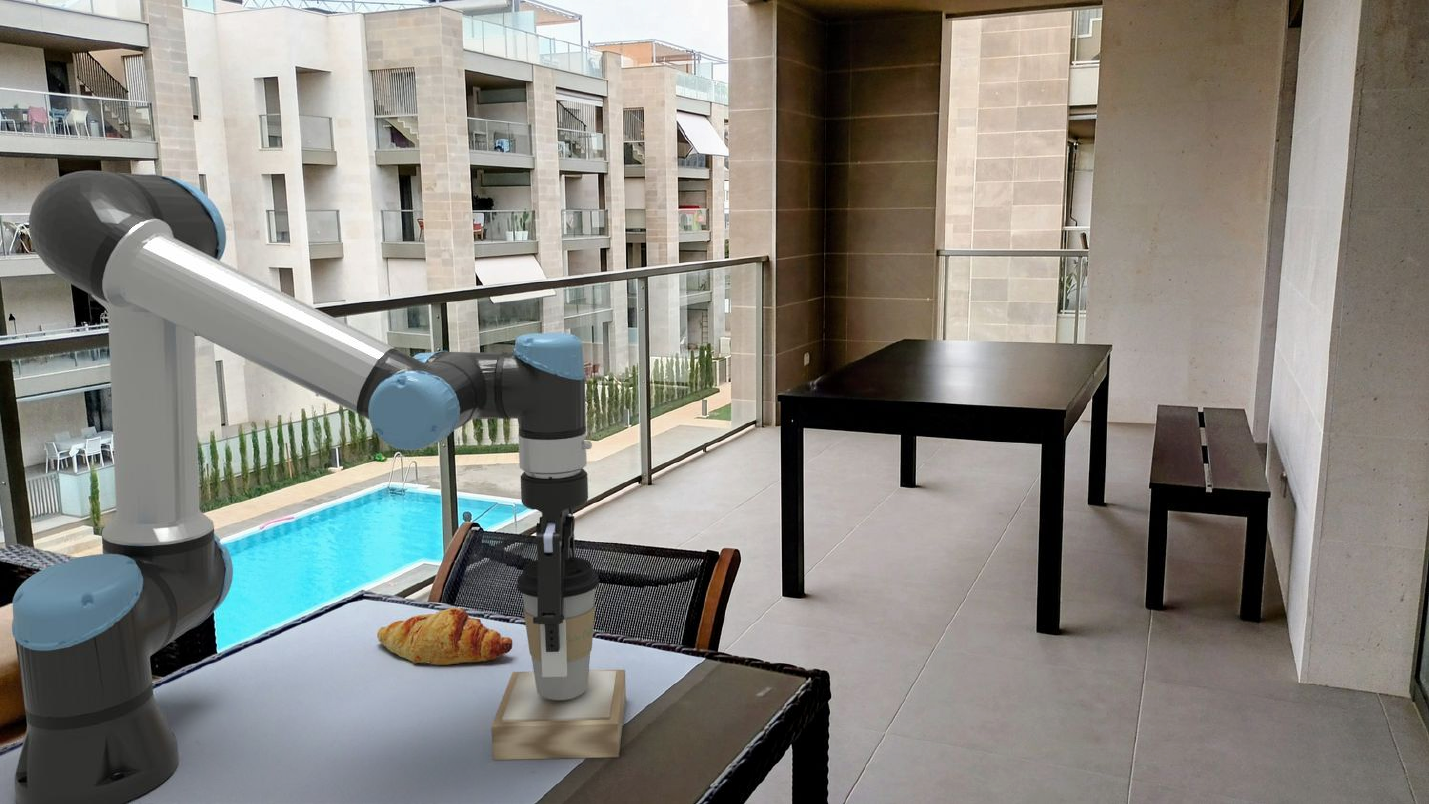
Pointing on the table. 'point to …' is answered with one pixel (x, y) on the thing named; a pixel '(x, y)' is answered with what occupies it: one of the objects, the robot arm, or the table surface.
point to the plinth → (560, 720)
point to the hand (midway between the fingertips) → (560, 656)
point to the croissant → (444, 639)
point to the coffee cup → (578, 627)
